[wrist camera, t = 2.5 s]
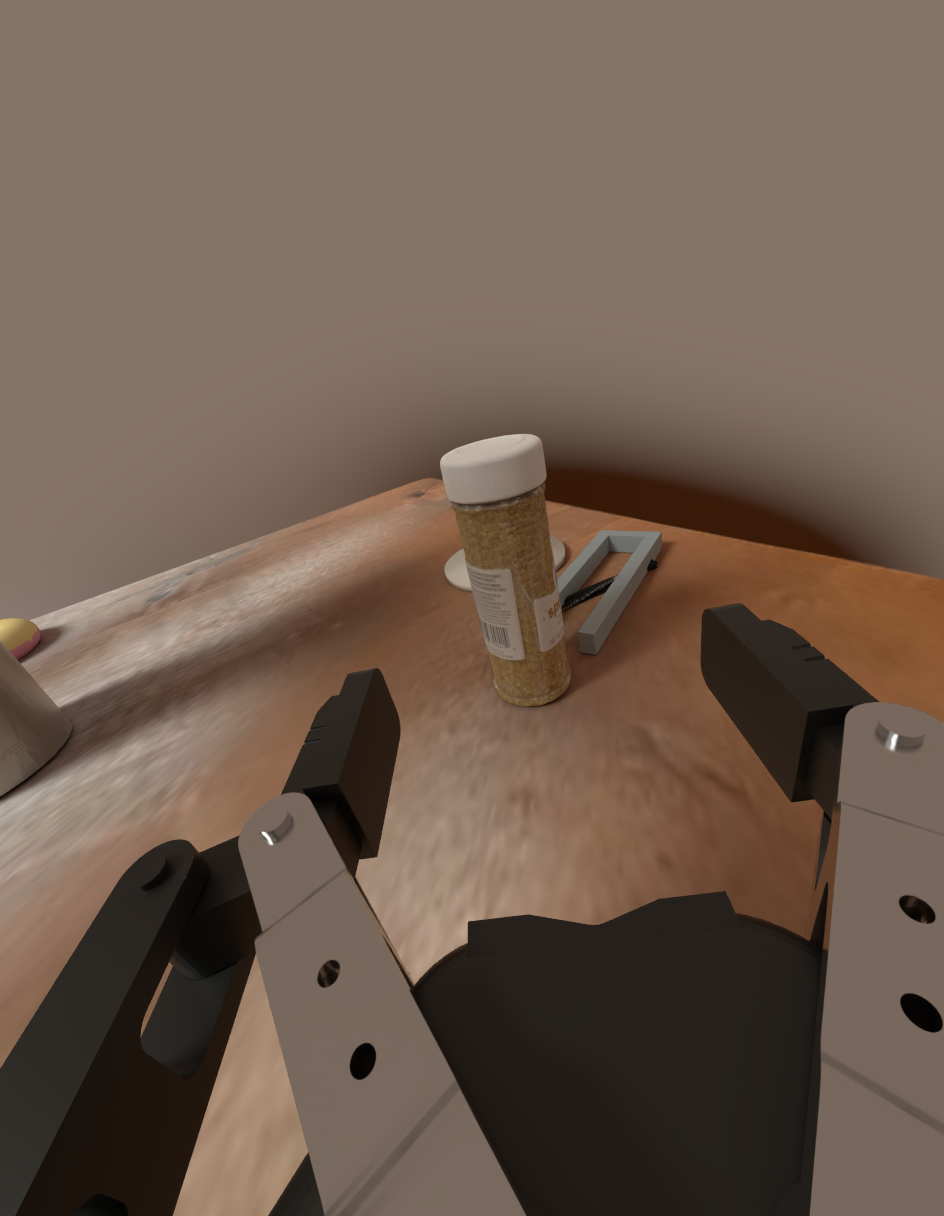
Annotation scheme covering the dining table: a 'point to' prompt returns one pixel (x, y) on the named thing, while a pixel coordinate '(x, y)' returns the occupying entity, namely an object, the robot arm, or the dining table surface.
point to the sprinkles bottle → (511, 563)
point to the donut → (19, 636)
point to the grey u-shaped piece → (621, 588)
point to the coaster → (459, 573)
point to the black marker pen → (594, 590)
